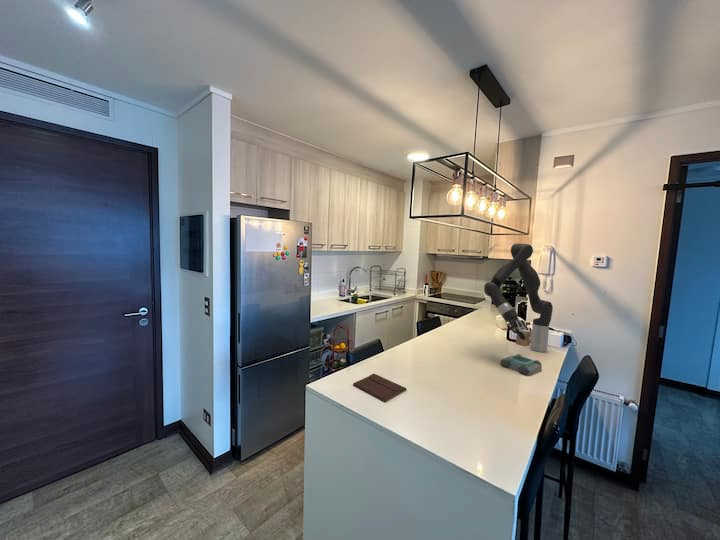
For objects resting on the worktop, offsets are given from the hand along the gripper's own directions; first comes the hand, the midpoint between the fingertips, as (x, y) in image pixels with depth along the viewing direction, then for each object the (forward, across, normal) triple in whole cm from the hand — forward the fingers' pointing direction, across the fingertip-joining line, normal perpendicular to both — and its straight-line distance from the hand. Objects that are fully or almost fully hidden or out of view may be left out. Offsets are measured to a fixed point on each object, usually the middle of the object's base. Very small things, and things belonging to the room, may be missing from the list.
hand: (526, 338), depth 160 cm
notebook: (-4, -83, +30) cm, 88 cm away
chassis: (+11, 0, +14) cm, 18 cm away
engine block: (+2, 0, +4) cm, 5 cm away
